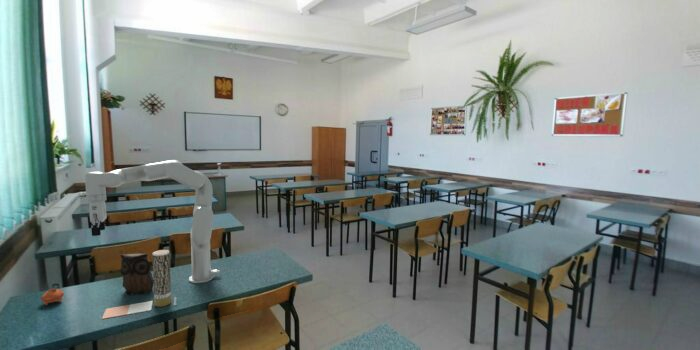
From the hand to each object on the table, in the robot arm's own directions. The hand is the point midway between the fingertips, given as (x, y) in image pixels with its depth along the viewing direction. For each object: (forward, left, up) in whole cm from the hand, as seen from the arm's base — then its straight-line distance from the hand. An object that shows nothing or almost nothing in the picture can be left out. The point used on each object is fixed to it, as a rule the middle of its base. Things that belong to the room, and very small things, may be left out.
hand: (98, 232), depth 158 cm
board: (-18, +22, -31) cm, 42 cm away
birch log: (-27, +22, -31) cm, 47 cm away
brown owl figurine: (-16, +2, -31) cm, 36 cm away
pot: (+19, +1, -32) cm, 37 cm away
